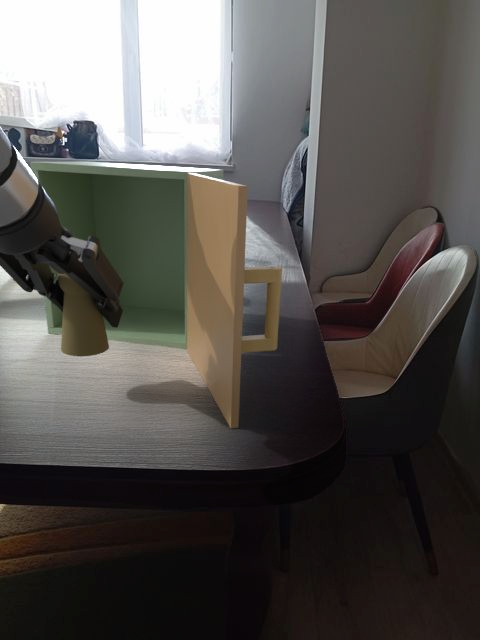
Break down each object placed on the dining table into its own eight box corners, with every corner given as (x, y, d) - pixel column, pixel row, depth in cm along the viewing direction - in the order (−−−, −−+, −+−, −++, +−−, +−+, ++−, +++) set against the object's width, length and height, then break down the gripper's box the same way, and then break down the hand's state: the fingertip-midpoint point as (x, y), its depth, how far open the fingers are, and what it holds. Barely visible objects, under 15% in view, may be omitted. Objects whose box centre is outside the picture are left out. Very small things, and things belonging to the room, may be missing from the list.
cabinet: (191, 350, 86) (191, 171, 76) (47, 333, 90) (30, 161, 80) (220, 319, 103) (223, 169, 93) (97, 306, 107) (87, 161, 97)
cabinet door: (224, 348, 87) (228, 174, 77) (279, 422, 64) (295, 187, 54) (187, 351, 85) (187, 172, 75) (230, 428, 62) (238, 185, 52)
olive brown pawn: (116, 342, 70) (112, 262, 66) (95, 358, 64) (90, 272, 61) (75, 337, 71) (69, 258, 67) (51, 353, 65) (43, 267, 61)
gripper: (-98, 224, 49) (27, 333, 70) (79, 240, 46) (153, 348, 67) (-65, 164, 52) (45, 286, 73) (103, 176, 49) (167, 299, 70)
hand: (97, 316), depth 70 cm, fingers closed on olive brown pawn, 5 cm apart
